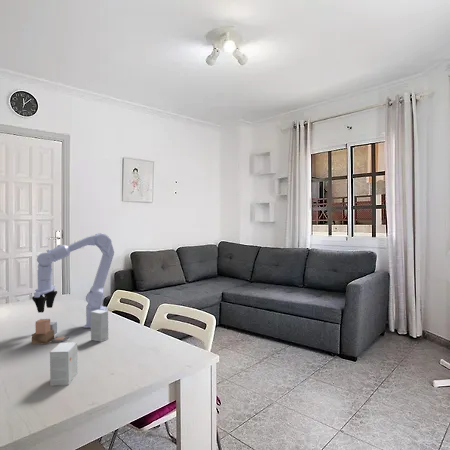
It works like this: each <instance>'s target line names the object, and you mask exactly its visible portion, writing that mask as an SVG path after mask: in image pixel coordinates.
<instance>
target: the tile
mask: <svg viewBox="0 0 450 450" xmlns="http://www.w3.org/2000/svg"><path fill="white" fill-rule="evenodd" d="M69 338H70V337H69V336H56V337H54V339H53V340H52V341H50V343H65V342H66V341H67V340H68V339H69Z"/></svg>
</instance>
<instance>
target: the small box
mask: <svg viewBox="0 0 450 450" xmlns="http://www.w3.org/2000/svg"><path fill="white" fill-rule="evenodd" d="M78 367H79V366H78V342H72V341H71V342H70V341H69V342H58V344H57V345H56V346H55V347H54V348H53V349H51V351H50V352H49V369H50V370H49V371H50V373H49V374H50V379H49V380H50V382H49V385H50V386H51V387H53V386H56V387H58V386H69V385H70V384H71V382H72V381H73V380H74V378H76V376H77V374H78V370H79V369H78Z"/></svg>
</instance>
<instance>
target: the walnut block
mask: <svg viewBox="0 0 450 450" xmlns="http://www.w3.org/2000/svg"><path fill="white" fill-rule="evenodd" d="M54 338H55V335H54V330H50V331H49V332H48V333H46V334H36V332H35V333H32V334H31V345H47V344H49V343H51V341H52V340H53V339H54Z"/></svg>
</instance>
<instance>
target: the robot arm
mask: <svg viewBox="0 0 450 450" xmlns="http://www.w3.org/2000/svg"><path fill="white" fill-rule="evenodd" d="M112 242H113V241H112V239H111V238H110V237H109V236H108V235H107V234H106V233H101V232H97V233H96V234H91V235H89V236H86V237H84V238H82V239H79V240H77V241H75V242H73V243H71V244H69V245H66V244H57V246H56V247H53V248H51V249H47V250H46V251H45V252H40V254H38V256H37V258H36V262H37V264H38V265H37V288H36V289H35V290H34V291H35V292H34V293H33V296H31V299H32V301H33V302H34V304H35V307H36V310H37V312H38V313H44V311H45V305H46V308H48V309H49V308H50V309H53V306H54V302H55V298H56V296H57V294H58V291H57V290H56V285H53V268H52V264H53V262H56V261H57V262H58V261H60V260H62V259H64V258H65V259H66V257H68V256H70V254H71V252H74V251H77V250H79V249H81V248H83V247H87V246H95V247H97V248H98V249H99V251H100V253H102V256H101V259H100V262H99V265H98V269H97V271H96V274H95V277H94V281H93V283H92V286H91V288H90V290H89V292H88V293H87V294H86V296H85V301H86V302H87V304H86V306H85V312H86V313H85V314H86V315H85V317H86V319H85V322H86V323H85V325H83V326H82V328H84V329H87V328H88V329H89V328H90V329H91V312H92V311H95V310H104V311H108V312H109V309H108V307H107V306H104V305H103V301H104V299H103V296H104V288H105V287H104V286H105V284H106V280H107V277H108V274H109V272H110V271H109V270H110V267H111V264H112V262H113V259H114V255H115V251H114V247H113V243H112Z"/></svg>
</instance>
